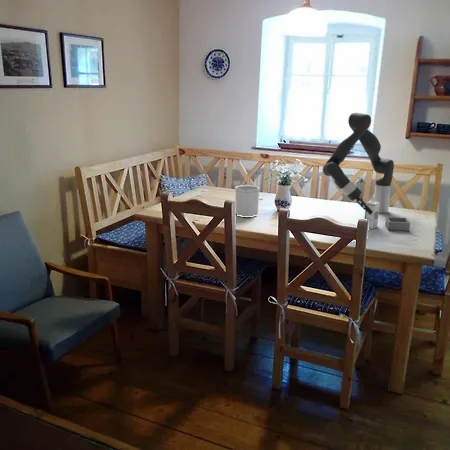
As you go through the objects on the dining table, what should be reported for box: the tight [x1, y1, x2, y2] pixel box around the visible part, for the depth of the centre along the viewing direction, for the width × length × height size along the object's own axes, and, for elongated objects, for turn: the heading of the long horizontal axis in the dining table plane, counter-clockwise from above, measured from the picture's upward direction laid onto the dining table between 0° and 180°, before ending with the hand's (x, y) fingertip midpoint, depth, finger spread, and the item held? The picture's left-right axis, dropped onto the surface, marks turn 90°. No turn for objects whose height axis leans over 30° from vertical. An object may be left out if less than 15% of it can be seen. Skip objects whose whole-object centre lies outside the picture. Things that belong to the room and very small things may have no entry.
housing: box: [384, 216, 411, 233], centre depth 261 cm, size 11×11×5 cm
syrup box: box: [364, 200, 380, 230], centre depth 262 cm, size 6×6×14 cm
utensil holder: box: [234, 184, 260, 216], centre depth 288 cm, size 15×15×18 cm
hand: (370, 211), depth 262 cm, fingers open, 8 cm apart
